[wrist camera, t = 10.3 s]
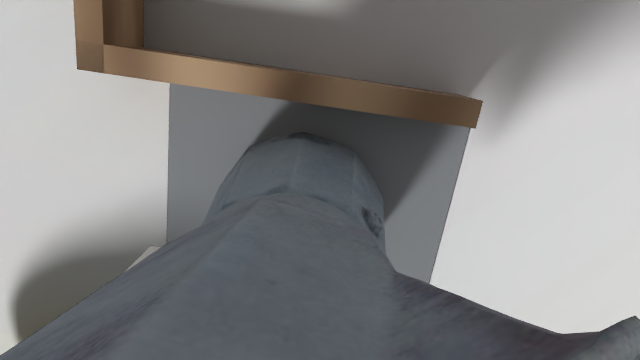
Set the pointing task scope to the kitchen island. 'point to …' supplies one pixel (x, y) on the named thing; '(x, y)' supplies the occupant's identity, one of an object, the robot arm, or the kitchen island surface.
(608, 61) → the kitchen island surface
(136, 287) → the moka pot
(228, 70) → the brown wooden frame
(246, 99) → the mat
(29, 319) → the kitchen island surface
